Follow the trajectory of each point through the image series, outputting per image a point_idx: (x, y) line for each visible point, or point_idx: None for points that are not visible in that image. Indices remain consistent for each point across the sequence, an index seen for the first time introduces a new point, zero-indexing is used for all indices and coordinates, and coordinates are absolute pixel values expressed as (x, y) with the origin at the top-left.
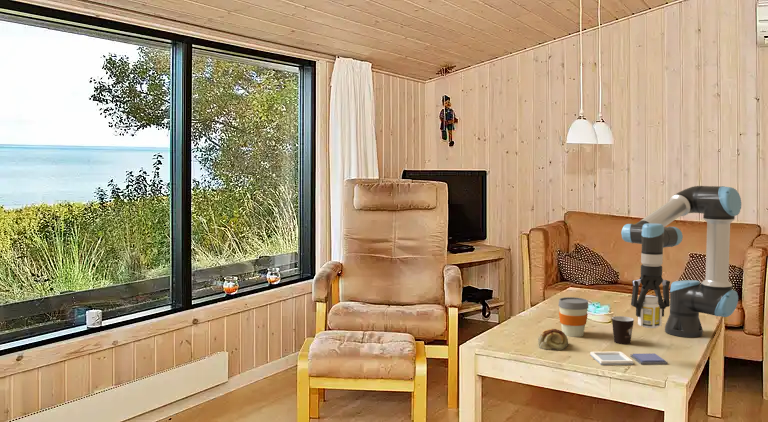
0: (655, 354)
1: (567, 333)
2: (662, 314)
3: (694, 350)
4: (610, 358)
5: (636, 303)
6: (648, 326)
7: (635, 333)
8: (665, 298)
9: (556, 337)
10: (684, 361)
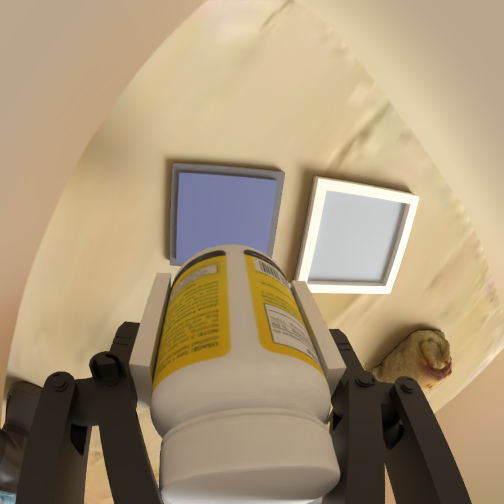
0: (179, 250)
1: (329, 424)
2: (129, 334)
3: (33, 300)
4: (360, 239)
5: (406, 402)
6: (267, 256)
7: (148, 429)
8: (67, 457)
9: (436, 355)
10: (94, 193)
